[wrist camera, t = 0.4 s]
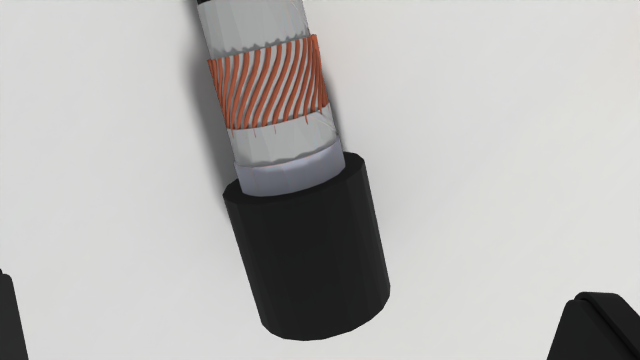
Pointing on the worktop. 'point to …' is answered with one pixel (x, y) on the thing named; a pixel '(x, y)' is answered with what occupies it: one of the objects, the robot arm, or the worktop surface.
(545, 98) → the worktop surface
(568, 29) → the worktop surface
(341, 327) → the cable
